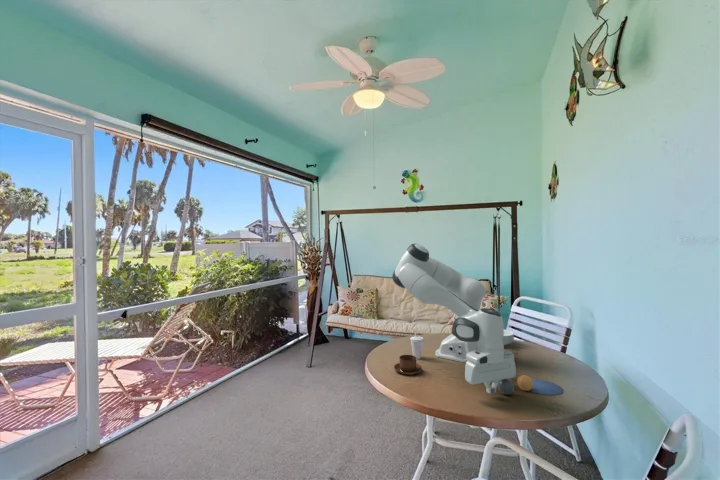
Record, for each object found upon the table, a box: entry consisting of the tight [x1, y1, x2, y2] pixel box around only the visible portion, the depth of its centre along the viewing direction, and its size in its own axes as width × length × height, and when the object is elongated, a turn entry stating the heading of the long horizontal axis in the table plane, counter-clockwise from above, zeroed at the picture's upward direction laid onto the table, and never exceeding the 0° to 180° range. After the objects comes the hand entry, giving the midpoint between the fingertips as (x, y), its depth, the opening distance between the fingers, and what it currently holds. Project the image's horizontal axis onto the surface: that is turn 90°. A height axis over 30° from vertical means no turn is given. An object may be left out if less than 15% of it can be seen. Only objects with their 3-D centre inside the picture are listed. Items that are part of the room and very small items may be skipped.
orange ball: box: [516, 374, 533, 392], centre depth 128 cm, size 6×6×6 cm
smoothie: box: [410, 328, 424, 360], centre depth 164 cm, size 6×6×14 cm
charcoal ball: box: [497, 378, 515, 396], centre depth 125 cm, size 6×6×6 cm
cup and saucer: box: [394, 354, 423, 375], centre depth 148 cm, size 12×12×6 cm
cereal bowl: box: [503, 328, 515, 347], centre depth 185 cm, size 17×17×7 cm
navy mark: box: [528, 378, 564, 396], centre depth 130 cm, size 14×14×1 cm
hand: (491, 392), depth 123 cm, fingers closed
